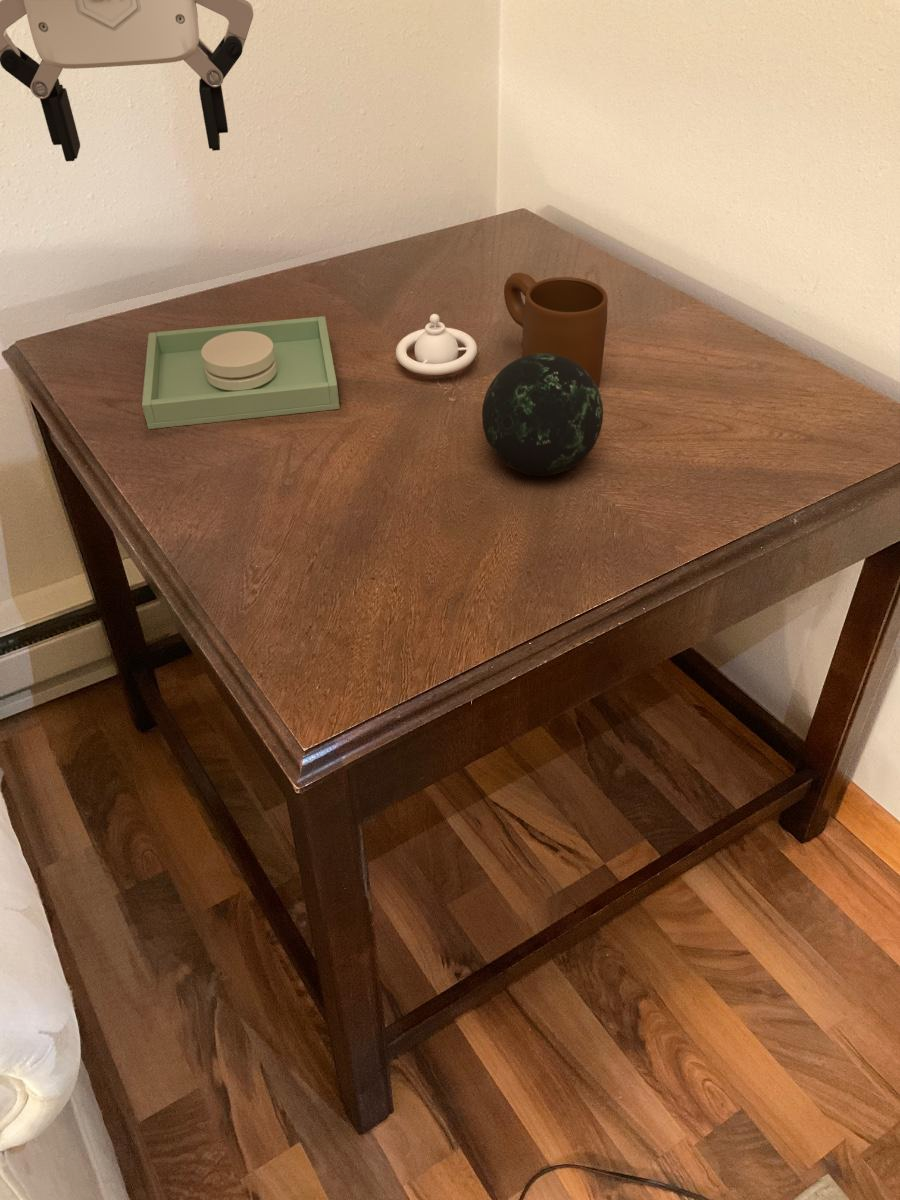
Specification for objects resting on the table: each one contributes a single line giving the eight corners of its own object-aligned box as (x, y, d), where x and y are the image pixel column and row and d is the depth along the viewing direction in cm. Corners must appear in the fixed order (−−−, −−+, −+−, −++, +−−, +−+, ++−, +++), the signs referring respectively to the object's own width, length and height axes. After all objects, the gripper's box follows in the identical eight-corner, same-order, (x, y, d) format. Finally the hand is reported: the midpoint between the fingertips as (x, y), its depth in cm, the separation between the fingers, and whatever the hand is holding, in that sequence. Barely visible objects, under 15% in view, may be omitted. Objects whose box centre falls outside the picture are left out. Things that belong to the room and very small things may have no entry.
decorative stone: (537, 419, 91) (543, 319, 84) (621, 465, 85) (634, 362, 78) (457, 463, 86) (456, 360, 79) (541, 515, 80) (547, 409, 74)
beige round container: (206, 398, 93) (200, 369, 91) (206, 362, 98) (201, 334, 96) (279, 390, 94) (274, 362, 92) (275, 355, 99) (271, 327, 97)
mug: (475, 365, 98) (476, 274, 91) (533, 341, 101) (538, 252, 95) (557, 417, 91) (563, 323, 84) (616, 389, 94) (627, 297, 88)
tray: (148, 429, 90) (141, 405, 89) (154, 356, 100) (148, 332, 98) (339, 409, 92) (337, 384, 91) (327, 339, 102) (324, 315, 100)
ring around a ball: (493, 371, 97) (449, 337, 102) (492, 318, 93) (447, 286, 98) (424, 398, 94) (382, 362, 99) (420, 344, 90) (377, 310, 95)
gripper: (-95, -146, 53) (7, 179, 65) (230, -158, 55) (272, 159, 67) (-66, -162, 58) (23, 140, 70) (228, -173, 61) (267, 122, 72)
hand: (144, 149), depth 69 cm, fingers open, 9 cm apart
